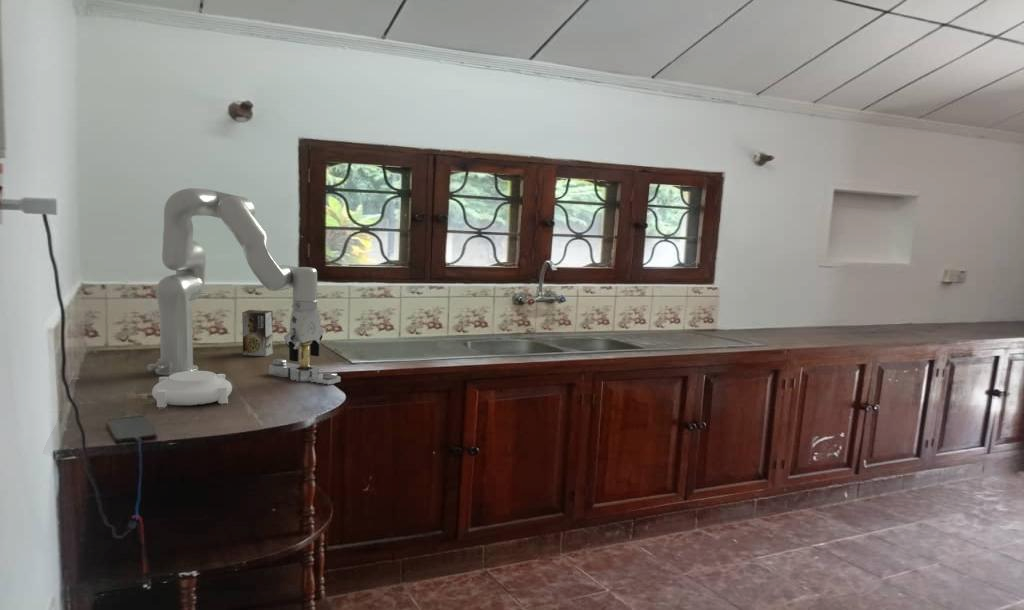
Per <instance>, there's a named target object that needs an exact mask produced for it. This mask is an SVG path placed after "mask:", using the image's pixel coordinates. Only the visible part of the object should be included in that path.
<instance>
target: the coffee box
mask: <svg viewBox="0 0 1024 610" xmlns="http://www.w3.org/2000/svg"><path fill="white" fill-rule="evenodd" d="M241 315H242V317H241V320H242V322H241V323H242V355H243V356H252V357H253V356H254V357H255V356H256V357H267V356H270V355H272V354H273V353H274V349H273V348H274V347H273V346H274V344H273V343H274V341H273V340H274V339H273V336H274V335H273V333H274V332H273V329H274V327H273V316H274V315H273V310H261V309H249V310H245V311H243V312H242V313H241Z"/></svg>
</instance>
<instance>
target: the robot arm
mask: <svg viewBox="0 0 1024 610" xmlns="http://www.w3.org/2000/svg"><path fill="white" fill-rule="evenodd" d="M255 214H256V208H255V206H254V204H253V203H252V201H251V200H250V199H248V198H246V197H244V196H239V195H235V194H229V193H226V192H223V191H218V190H213V189H212V190H211V189H208V188H207V189H206V188H192V187H191V188H184V189H180V190H178V191H176V192H174V193H173V194H171V195H170V196H169V197H168V199H167V201H166V202H165V205H164V209H163V231H162V232H163V233H162V235H163V236H162V251H161V252H162V253H161V256H162V257H161V260H162V263H163V265H164V267H166V268H167V269H168V270H170V271H175V274H171V275H167V276H164V277H163V278H162V279H161V280H160V281H159V282H158V284H157V285H156V289H155V295H156V300H157V306H158V311H159V312H158V313H159V314H158V315H159V340H160V342H159V344H160V347H159V348H160V352H159V353H160V358H158V359H157V362H156V363H150V364H147V365H146V369H147V371H150V372H151V371H154V370H155V373H156V374H157V375H159V376H166V377H169V376H170V375H172V374H175V373H179V372H185V371H199V366H198V365H196V364H194V345H193V344H194V339H193V338H194V337H193V335H194V333H193V331H194V329H193V312H192V309H191V305H190V302H192V301H195V300H197V299H199V298H200V297H201V296H202V294H203V292H204V289H205V277H206V276H205V275H206V263H207V262H206V252H205V249H204V248H203V246H202V245H201V244H200V243H199V242H198V241H195V240H193V239H194V224H193V221H192V217H197V216H198V217H199V216H201V217H202V216H203V217H206V216H208V217H213V218H216V219H221V221H222V223H224V224H225V226H226V227H227V228H228V230H229V231H230V233H231V235H233V237H234V238H235V239H236V241H237V242H238V244H239V245H240V246H241V248H242V250H243V255H244V256H245V258H246V262H247V263H248V266H249V268H250V270H251V271H252V272H253V274H254V275H255V277H256V278H257V279H258V281H259V283H261V285H262V286H263V287H264V288H266V289H267V290H269V291H272V292H278V291H282V290H285V289H291V288H292V305H291V307H292V311H291V314H290V320H289V321H290V322H289V331H288V332H287V333H286V334H285V335H284V336H283V339H284V342H285V344H286V346H287V348H288V349H289V350H288V351H289V356H288V357H289V361H291V362H299V349H298V348H299V343H300V342H301V343H305V342H310V341H311V345H310V357H311V356H312V357H319V356H320V344H321V343H322V342H321V341H322V339H323V335H324V332H325V329H323V328H322V327H321V326H322V325H321V317H320V311H319V309H318V271H317V269H316V268H314V267H309V266H299V267H298V266H291V265H286V264H285V265H284V264H282V265H278V264H277V263H276V262H275V260H274V259H273V258H272V256H271V254H270V252H269V251H268V247H267V232H266V231H265V230H264V228H263V227H262V226H261V224H260V223H259V222H258V221H257V219H256V218H255Z"/></svg>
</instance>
